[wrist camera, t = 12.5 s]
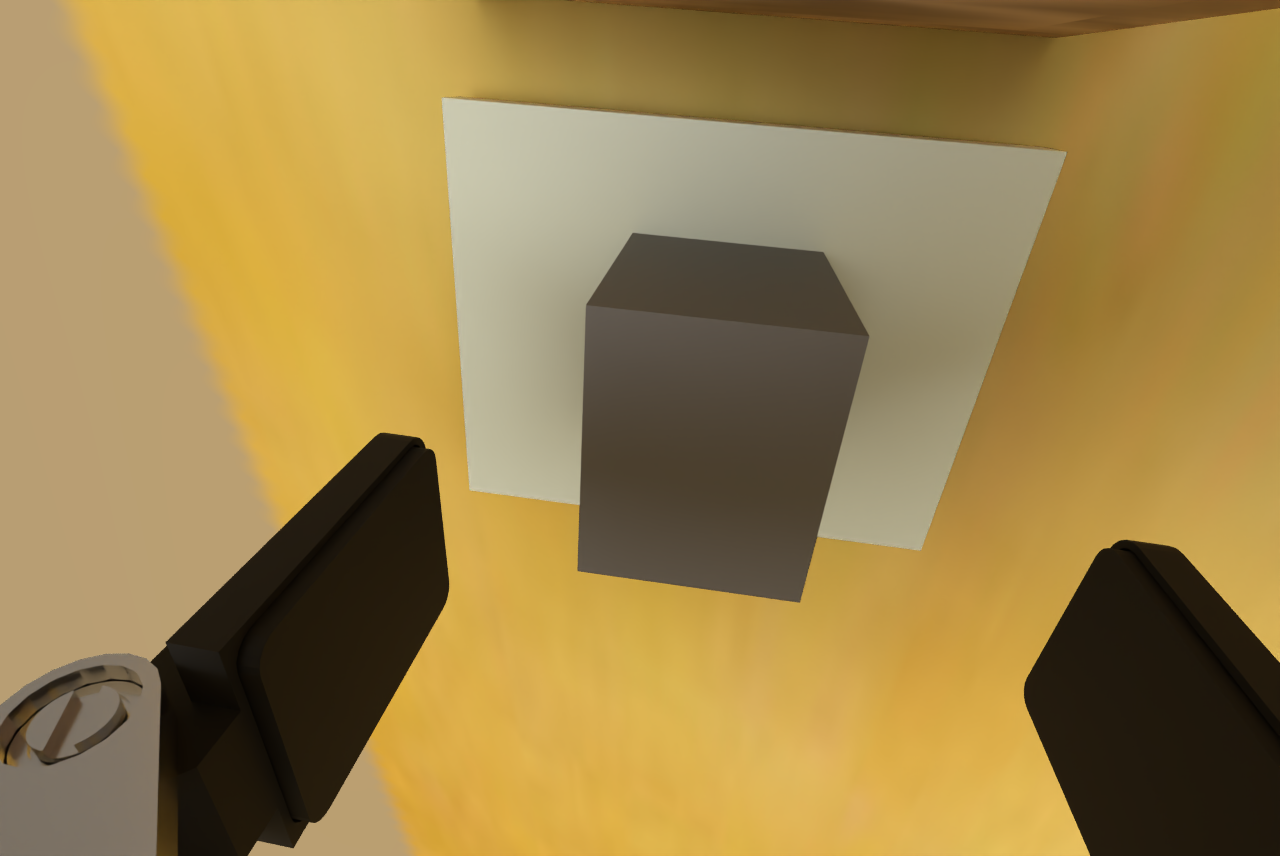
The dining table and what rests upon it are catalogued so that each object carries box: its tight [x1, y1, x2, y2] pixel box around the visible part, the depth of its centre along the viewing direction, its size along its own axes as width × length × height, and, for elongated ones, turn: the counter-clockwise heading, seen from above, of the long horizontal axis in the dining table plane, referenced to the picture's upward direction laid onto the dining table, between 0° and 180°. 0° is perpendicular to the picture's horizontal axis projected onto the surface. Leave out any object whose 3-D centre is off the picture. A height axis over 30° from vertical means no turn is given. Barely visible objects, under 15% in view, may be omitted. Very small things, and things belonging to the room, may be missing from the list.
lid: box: [442, 97, 1067, 603], centre depth 16 cm, size 14×11×8 cm
